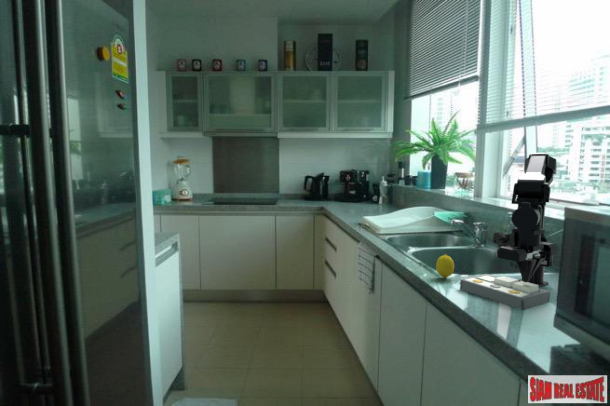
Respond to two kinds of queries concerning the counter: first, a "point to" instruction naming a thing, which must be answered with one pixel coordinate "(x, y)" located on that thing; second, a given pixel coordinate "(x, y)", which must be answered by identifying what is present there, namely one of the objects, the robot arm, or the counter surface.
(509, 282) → the button
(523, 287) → the button
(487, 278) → the button
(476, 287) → the board
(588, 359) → the counter surface
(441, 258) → the lemon
